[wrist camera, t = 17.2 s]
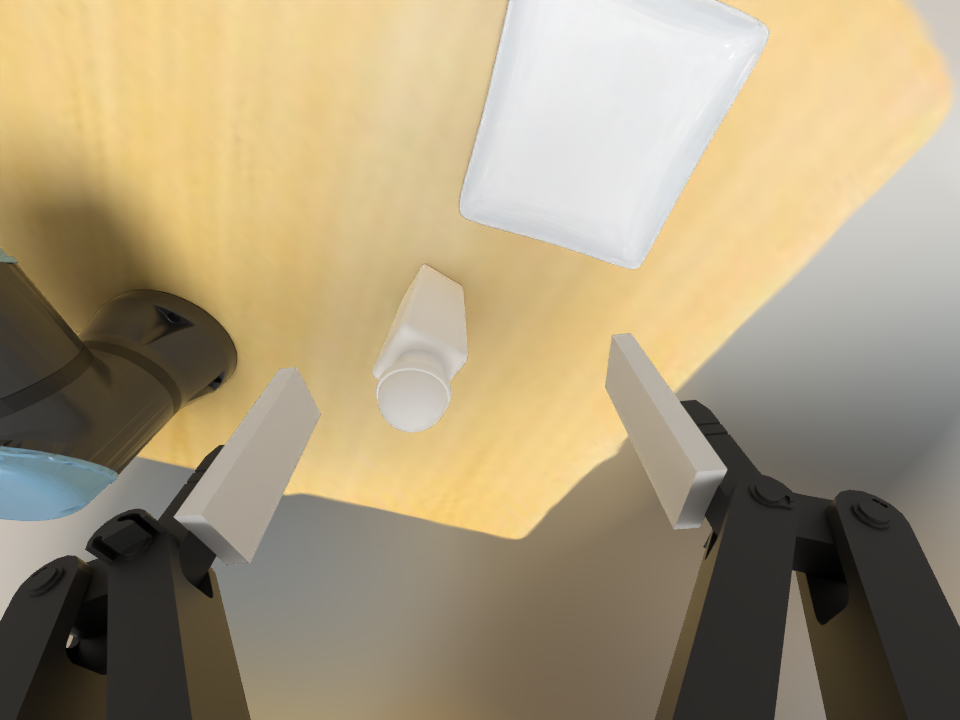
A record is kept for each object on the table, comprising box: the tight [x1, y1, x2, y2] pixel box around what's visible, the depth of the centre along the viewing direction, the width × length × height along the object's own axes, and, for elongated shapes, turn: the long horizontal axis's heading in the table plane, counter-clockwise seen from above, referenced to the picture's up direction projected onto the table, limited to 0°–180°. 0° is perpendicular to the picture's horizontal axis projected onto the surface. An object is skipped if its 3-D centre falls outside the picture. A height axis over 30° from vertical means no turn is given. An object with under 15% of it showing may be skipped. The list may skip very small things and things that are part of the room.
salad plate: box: [459, 0, 769, 269], centre depth 34 cm, size 21×21×3 cm
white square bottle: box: [372, 264, 468, 432], centre depth 35 cm, size 6×6×22 cm
